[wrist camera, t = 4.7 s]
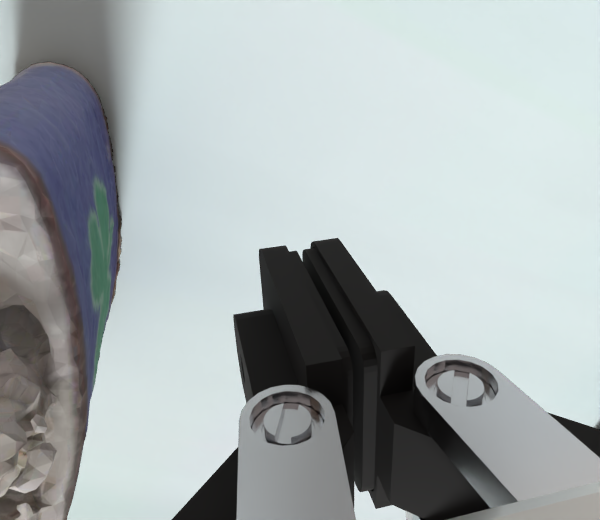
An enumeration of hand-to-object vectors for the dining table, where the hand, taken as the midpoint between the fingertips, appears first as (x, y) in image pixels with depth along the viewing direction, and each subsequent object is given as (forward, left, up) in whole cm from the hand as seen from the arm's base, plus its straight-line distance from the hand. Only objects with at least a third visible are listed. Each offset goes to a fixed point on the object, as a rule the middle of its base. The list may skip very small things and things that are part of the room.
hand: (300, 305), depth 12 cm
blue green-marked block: (+6, 0, -8) cm, 10 cm away
